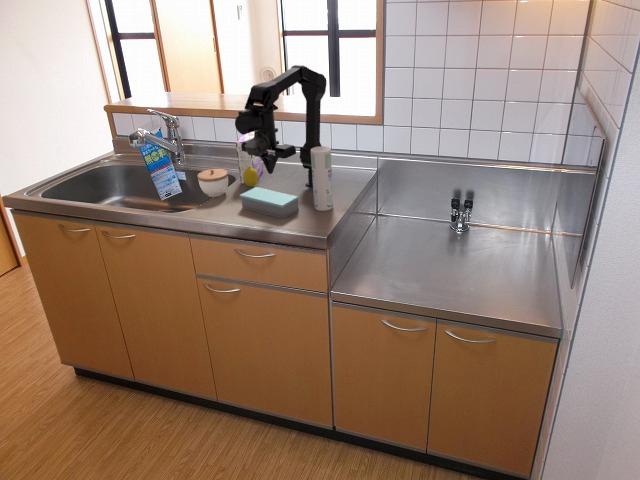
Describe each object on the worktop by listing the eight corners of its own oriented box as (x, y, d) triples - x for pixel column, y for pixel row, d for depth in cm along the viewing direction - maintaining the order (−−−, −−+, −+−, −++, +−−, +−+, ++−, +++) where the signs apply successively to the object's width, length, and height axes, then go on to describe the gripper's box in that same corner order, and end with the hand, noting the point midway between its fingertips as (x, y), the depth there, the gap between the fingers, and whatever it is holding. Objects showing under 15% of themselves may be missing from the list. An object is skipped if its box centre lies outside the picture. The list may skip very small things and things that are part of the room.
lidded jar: (197, 200, 183) (193, 175, 179) (204, 189, 193) (200, 165, 189) (227, 198, 183) (224, 173, 179) (232, 187, 193) (229, 163, 188)
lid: (256, 189, 179) (256, 186, 178) (298, 198, 169) (298, 196, 169) (240, 197, 173) (239, 194, 173) (282, 207, 163) (282, 205, 163)
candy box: (249, 171, 208) (244, 131, 200) (263, 171, 207) (259, 131, 199) (240, 183, 196) (234, 141, 188) (255, 183, 195) (250, 141, 187)
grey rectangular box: (258, 199, 180) (256, 189, 179) (298, 209, 171) (297, 198, 169) (242, 208, 175) (241, 197, 173) (283, 218, 165) (282, 207, 163)
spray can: (332, 211, 169) (329, 152, 159) (312, 210, 170) (308, 152, 160) (334, 203, 174) (332, 146, 165) (315, 203, 175) (312, 146, 166)
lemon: (258, 190, 189) (256, 169, 185) (243, 190, 189) (240, 170, 185) (260, 184, 194) (258, 164, 190) (245, 185, 194) (243, 164, 190)
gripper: (226, 129, 161) (232, 176, 168) (272, 136, 151) (276, 186, 158) (250, 121, 169) (255, 166, 176) (295, 127, 159) (298, 175, 166)
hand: (270, 173), depth 169 cm, fingers closed
